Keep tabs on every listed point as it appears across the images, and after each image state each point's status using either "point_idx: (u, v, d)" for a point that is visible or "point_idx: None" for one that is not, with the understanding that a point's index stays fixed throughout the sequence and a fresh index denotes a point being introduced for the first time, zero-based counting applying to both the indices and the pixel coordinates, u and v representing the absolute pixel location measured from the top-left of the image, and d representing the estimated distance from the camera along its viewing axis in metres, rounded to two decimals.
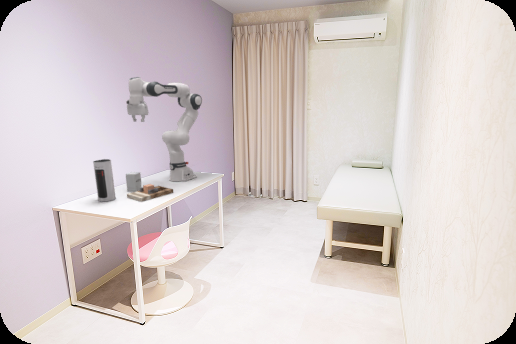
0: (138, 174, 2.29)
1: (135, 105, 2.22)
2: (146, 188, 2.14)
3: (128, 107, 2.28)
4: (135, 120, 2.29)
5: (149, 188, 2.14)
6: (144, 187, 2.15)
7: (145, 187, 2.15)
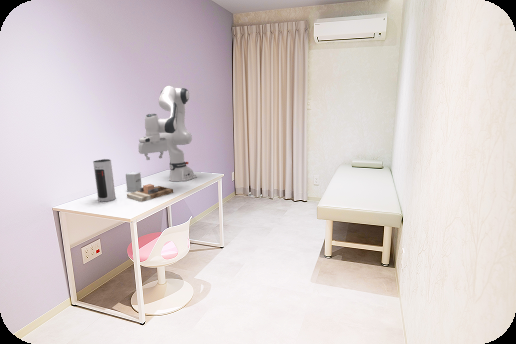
0: (138, 174, 2.29)
1: (157, 142, 2.17)
2: (146, 188, 2.14)
3: (144, 145, 2.10)
4: None
5: (149, 188, 2.14)
6: (144, 187, 2.15)
7: (145, 187, 2.15)
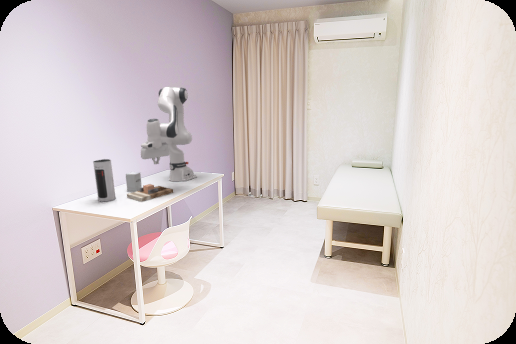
0: (138, 174, 2.29)
1: (159, 147, 2.17)
2: (146, 188, 2.14)
3: (146, 151, 2.10)
4: None
5: (149, 188, 2.14)
6: (144, 187, 2.15)
7: (145, 187, 2.15)
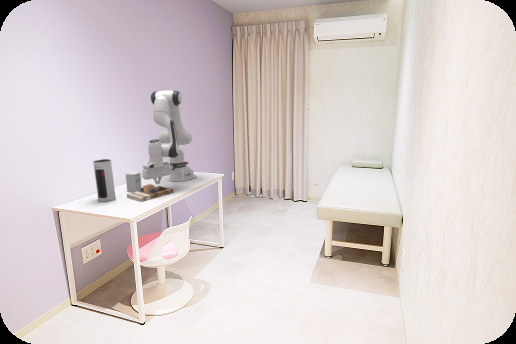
0: (138, 174, 2.29)
1: (161, 167, 2.19)
2: (146, 188, 2.14)
3: (148, 171, 2.13)
4: None
5: (149, 188, 2.14)
6: (144, 187, 2.15)
7: (145, 187, 2.15)
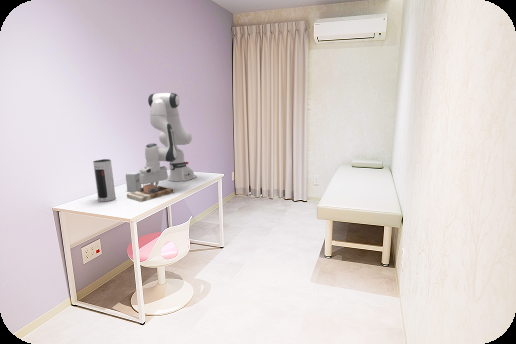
0: (138, 174, 2.29)
1: (158, 172, 2.18)
2: (146, 188, 2.14)
3: (145, 176, 2.11)
4: None
5: (149, 188, 2.14)
6: (144, 187, 2.15)
7: (145, 187, 2.15)
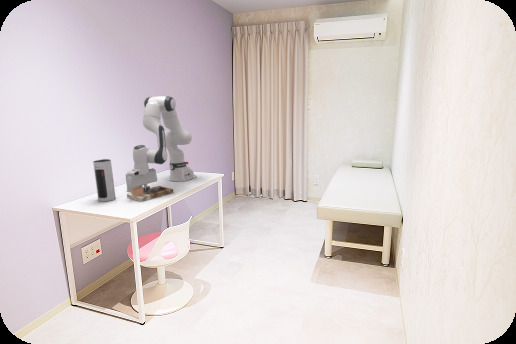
0: None
1: (146, 174, 2.11)
2: (134, 191, 2.08)
3: (133, 179, 2.04)
4: None
5: (137, 191, 2.08)
6: (132, 190, 2.09)
7: (133, 190, 2.08)
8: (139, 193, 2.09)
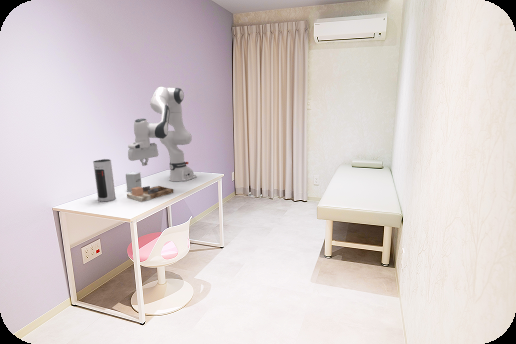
0: (138, 174, 2.29)
1: (147, 148, 2.10)
2: (134, 191, 2.08)
3: (134, 152, 2.03)
4: None
5: (137, 191, 2.08)
6: (132, 190, 2.09)
7: (133, 190, 2.08)
8: (139, 193, 2.09)
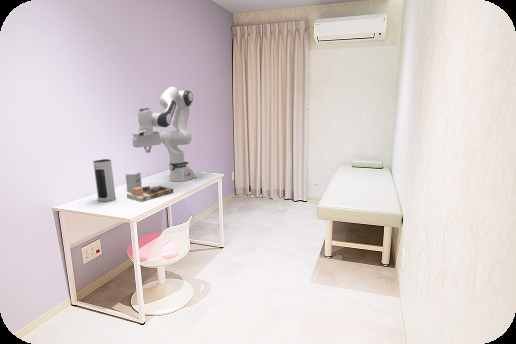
0: (138, 174, 2.29)
1: (151, 136, 2.22)
2: (134, 191, 2.08)
3: (138, 139, 2.15)
4: None
5: (137, 191, 2.08)
6: (132, 190, 2.09)
7: (133, 190, 2.08)
8: (139, 193, 2.09)
